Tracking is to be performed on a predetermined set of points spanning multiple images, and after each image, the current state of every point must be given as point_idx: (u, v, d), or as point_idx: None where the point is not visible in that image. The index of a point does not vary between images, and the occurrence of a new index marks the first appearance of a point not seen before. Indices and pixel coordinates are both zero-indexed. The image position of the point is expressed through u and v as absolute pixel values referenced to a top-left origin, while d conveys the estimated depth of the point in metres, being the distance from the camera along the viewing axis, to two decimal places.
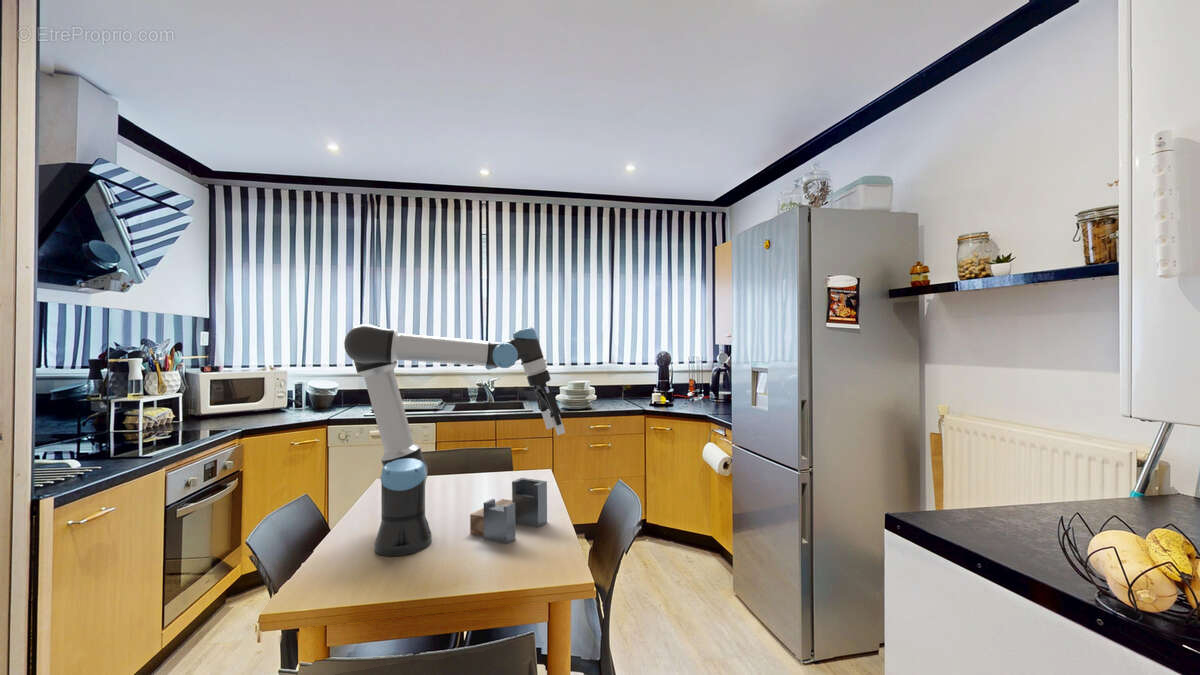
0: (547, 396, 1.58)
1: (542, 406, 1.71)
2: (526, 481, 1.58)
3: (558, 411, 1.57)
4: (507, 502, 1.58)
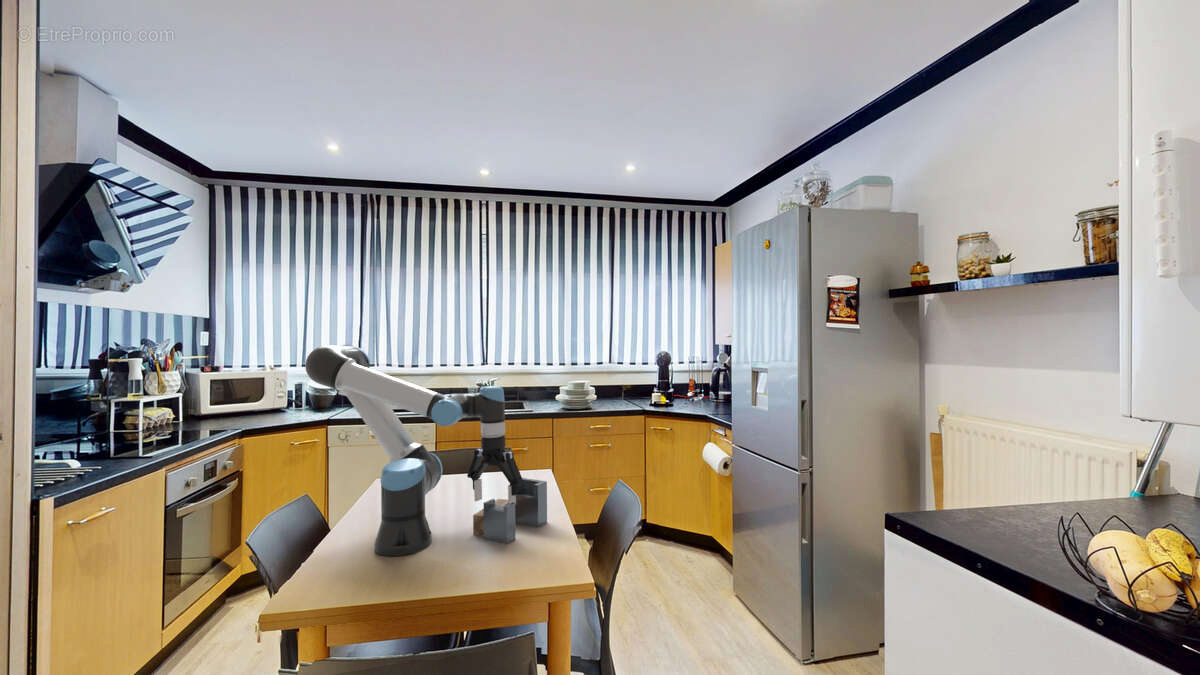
0: (511, 462, 1.49)
1: (478, 474, 1.55)
2: (526, 481, 1.58)
3: (521, 480, 1.49)
4: (505, 502, 1.58)
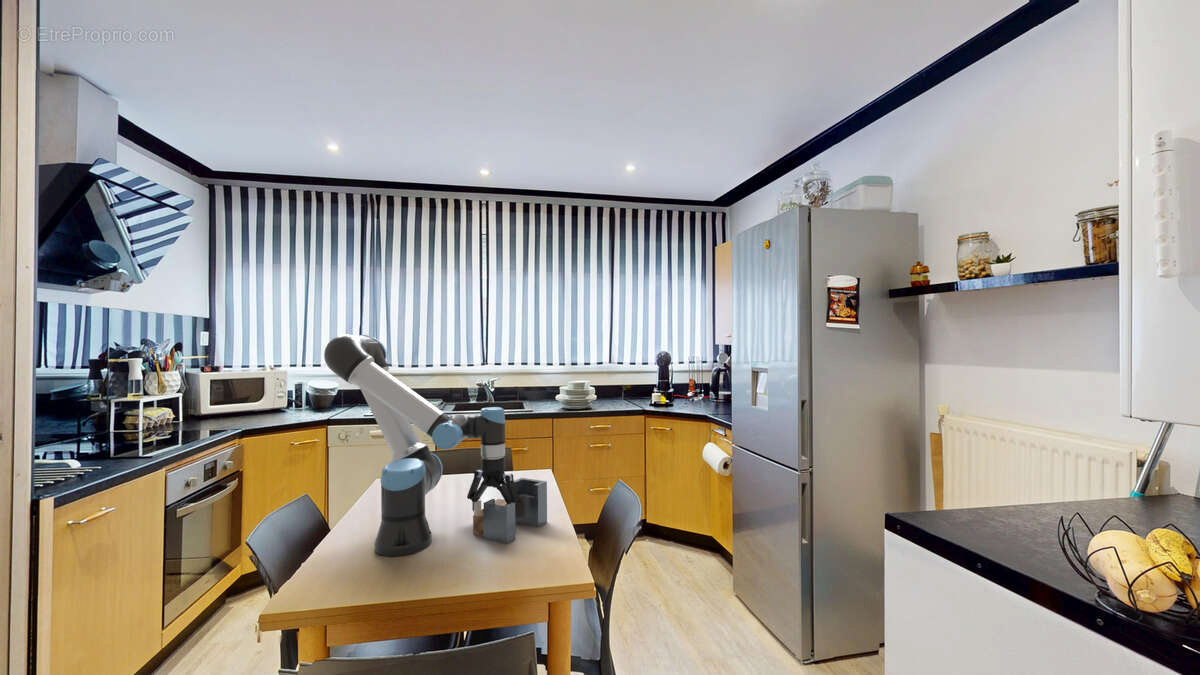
0: (510, 485, 1.49)
1: (478, 495, 1.55)
2: (526, 481, 1.58)
3: (519, 503, 1.49)
4: (504, 502, 1.58)
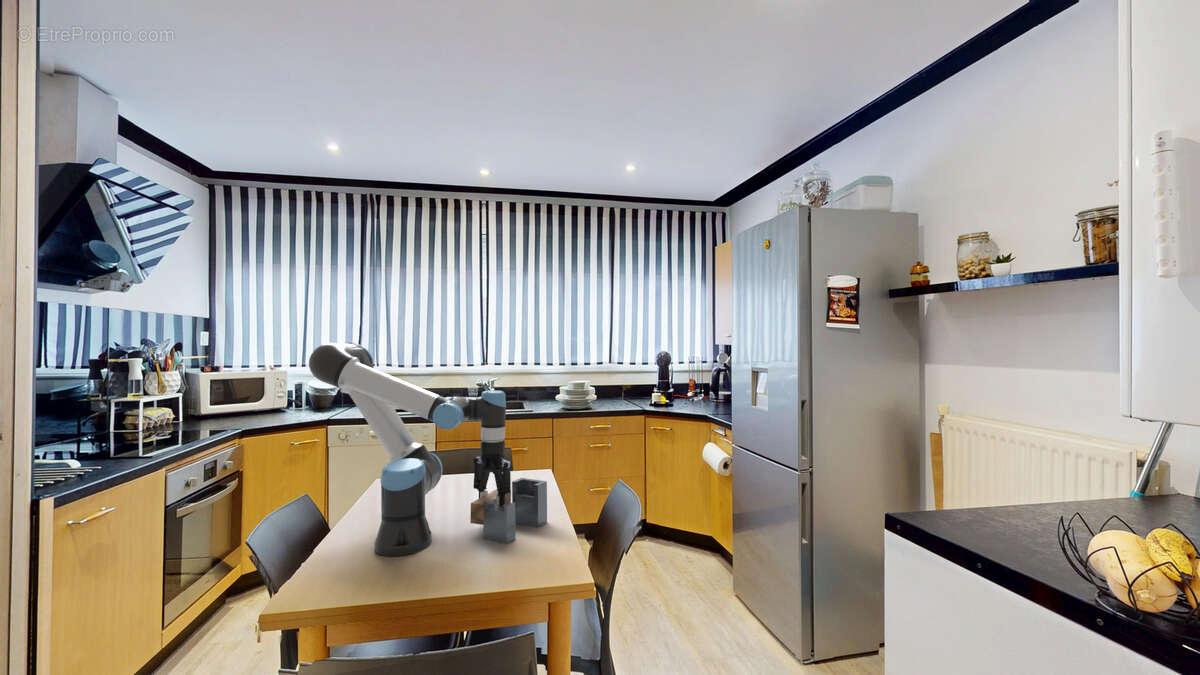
0: (506, 473, 1.50)
1: (483, 483, 1.54)
2: (526, 481, 1.58)
3: (509, 491, 1.51)
4: None
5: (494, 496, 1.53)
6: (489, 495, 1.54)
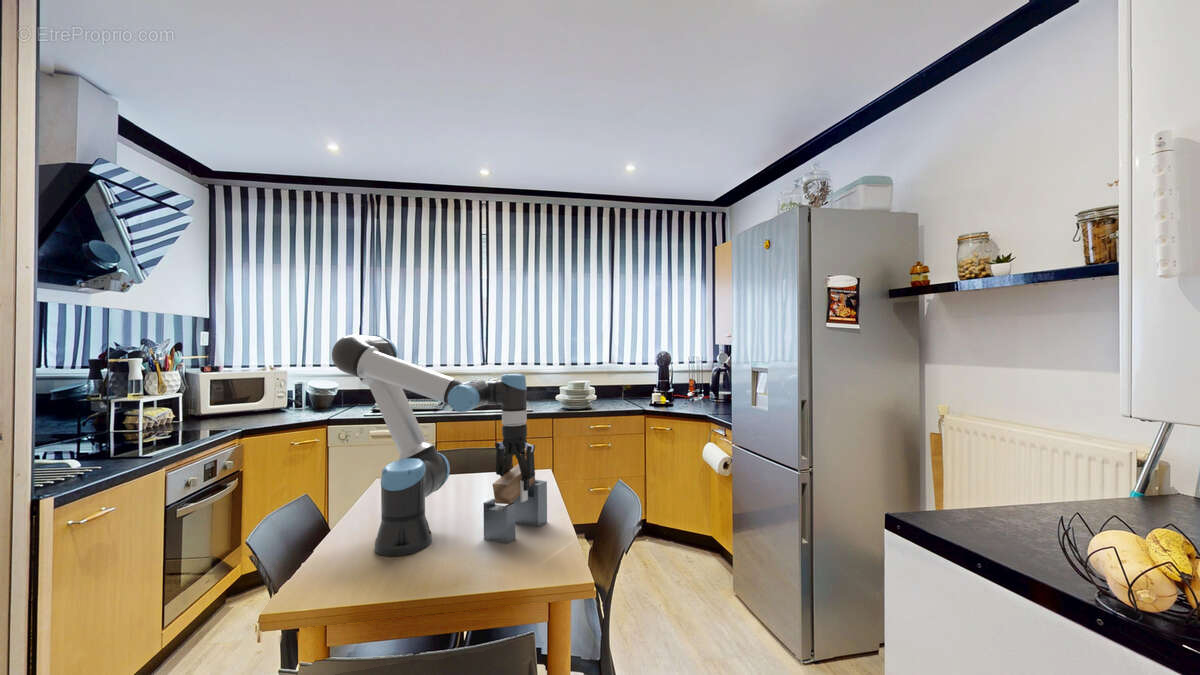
0: (530, 456, 1.46)
1: (506, 468, 1.50)
2: None
3: (533, 475, 1.47)
4: None
5: (516, 472, 1.49)
6: (511, 472, 1.50)
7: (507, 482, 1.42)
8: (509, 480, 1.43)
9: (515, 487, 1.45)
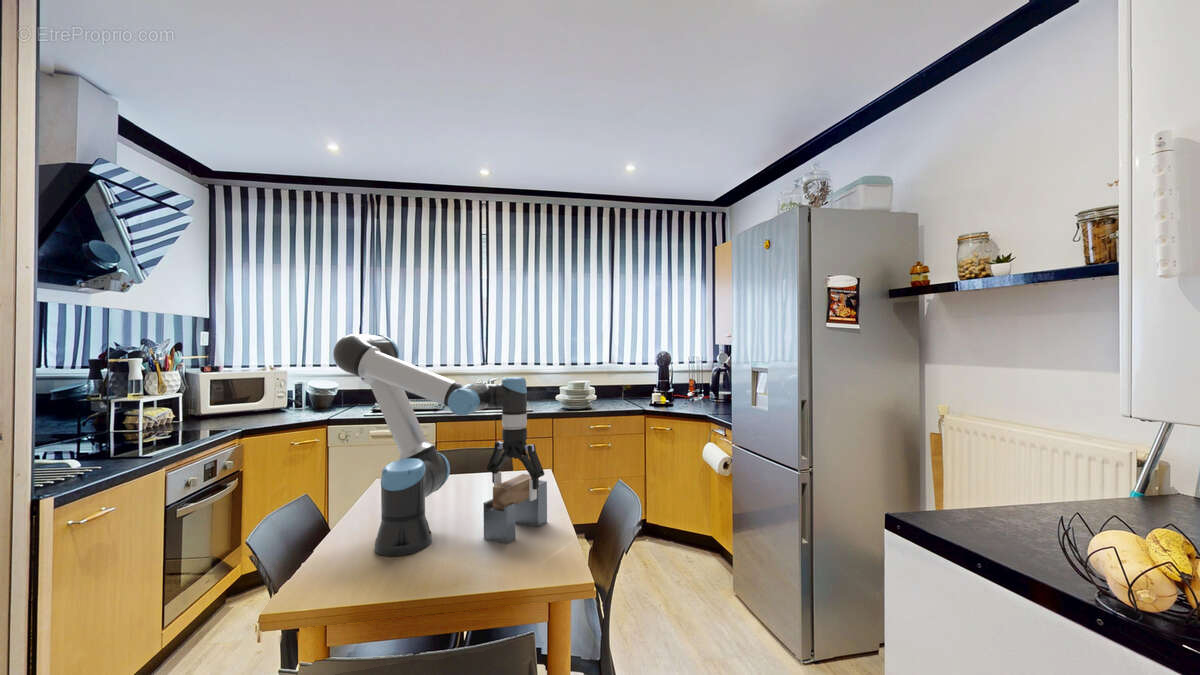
0: (533, 455, 1.45)
1: (498, 467, 1.52)
2: None
3: (542, 473, 1.45)
4: (528, 476, 1.54)
5: (517, 481, 1.49)
6: (513, 480, 1.50)
7: (507, 487, 1.43)
8: (509, 486, 1.44)
9: (515, 494, 1.45)
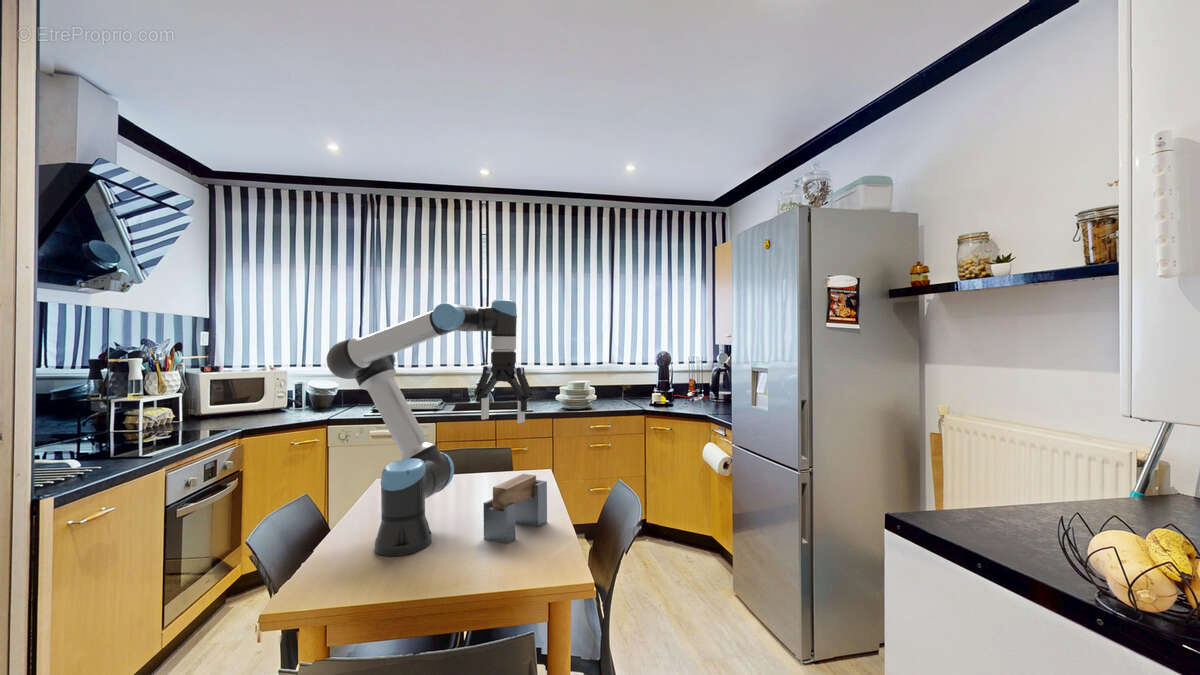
0: (521, 377, 1.44)
1: (486, 391, 1.50)
2: None
3: (531, 396, 1.44)
4: (528, 476, 1.54)
5: (517, 481, 1.49)
6: (513, 480, 1.50)
7: (507, 487, 1.43)
8: (509, 486, 1.44)
9: (515, 494, 1.45)
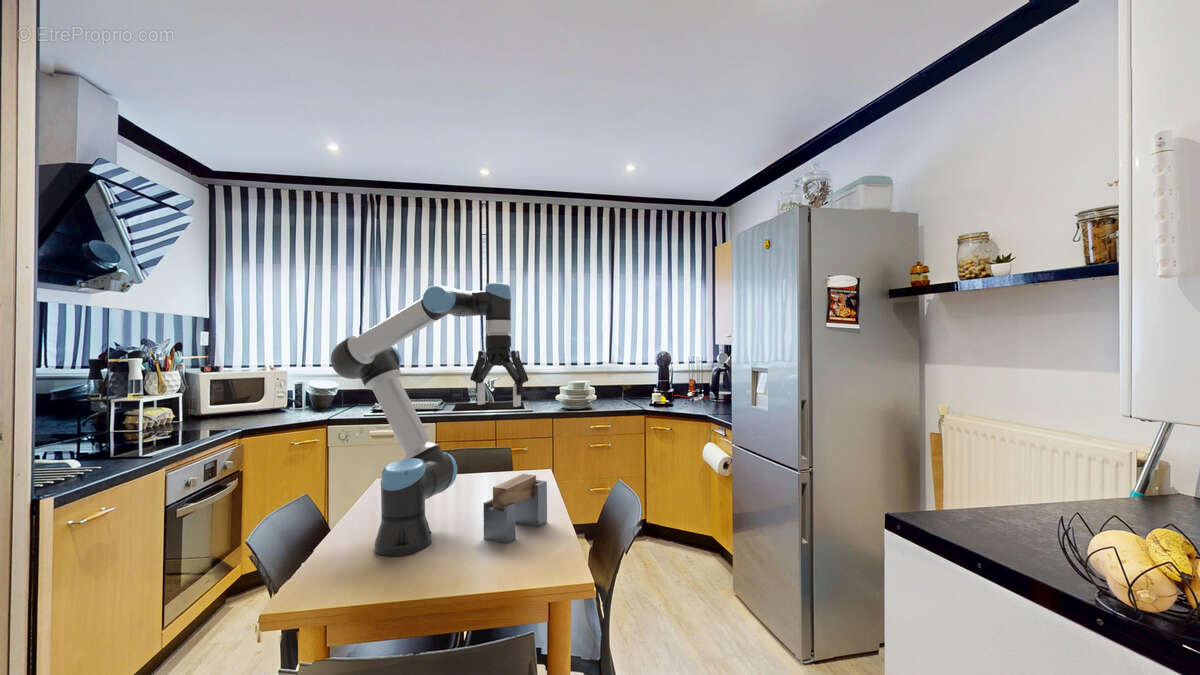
0: (516, 360, 1.42)
1: (482, 376, 1.49)
2: None
3: (526, 379, 1.42)
4: (528, 476, 1.54)
5: (517, 481, 1.49)
6: (513, 480, 1.50)
7: (507, 487, 1.43)
8: (509, 486, 1.44)
9: (515, 494, 1.45)
